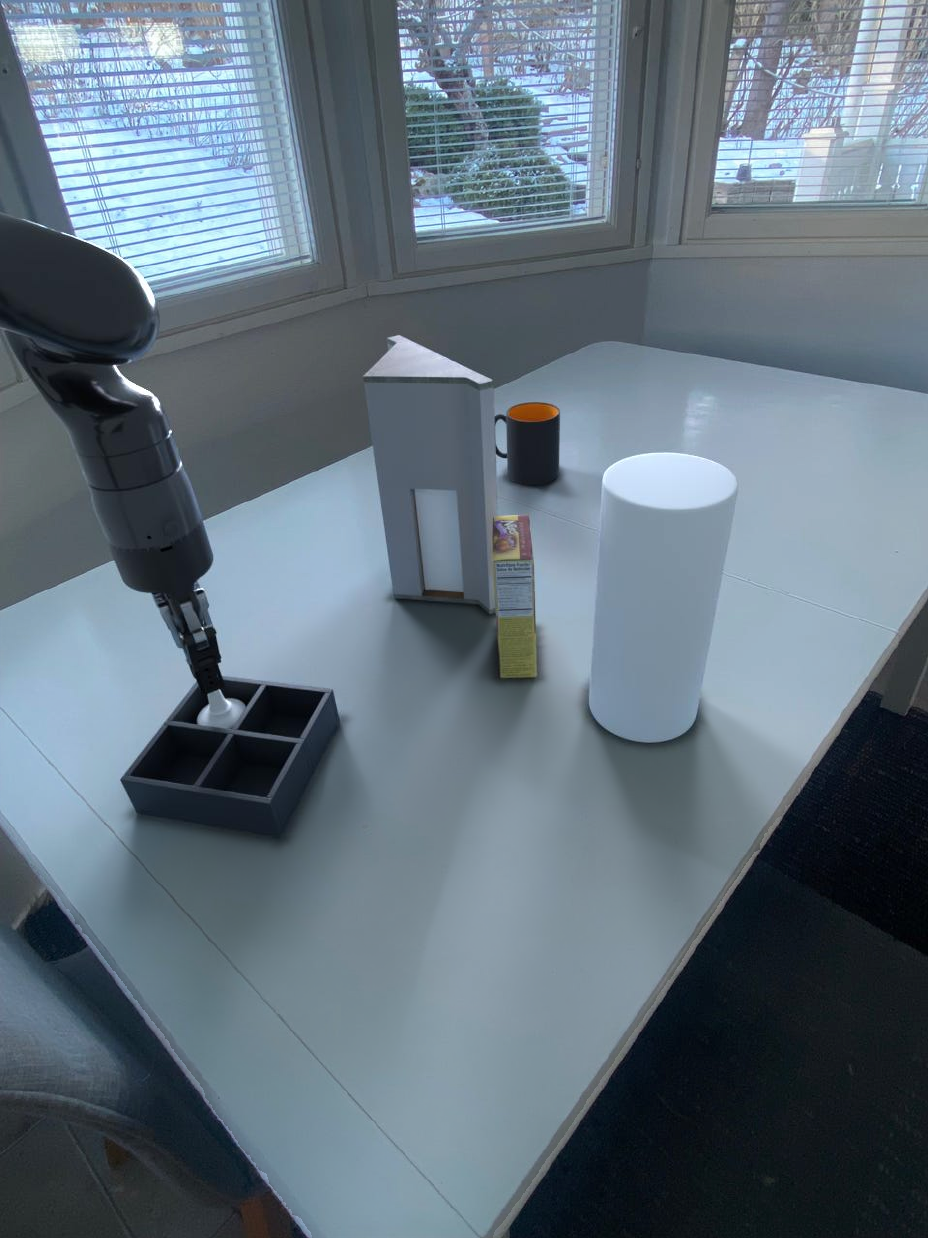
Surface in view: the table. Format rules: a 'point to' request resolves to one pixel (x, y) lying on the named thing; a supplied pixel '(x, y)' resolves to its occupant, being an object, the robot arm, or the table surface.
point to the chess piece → (220, 711)
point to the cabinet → (434, 473)
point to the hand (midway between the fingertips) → (209, 681)
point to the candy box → (514, 595)
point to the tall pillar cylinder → (657, 590)
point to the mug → (532, 442)
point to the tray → (236, 758)
